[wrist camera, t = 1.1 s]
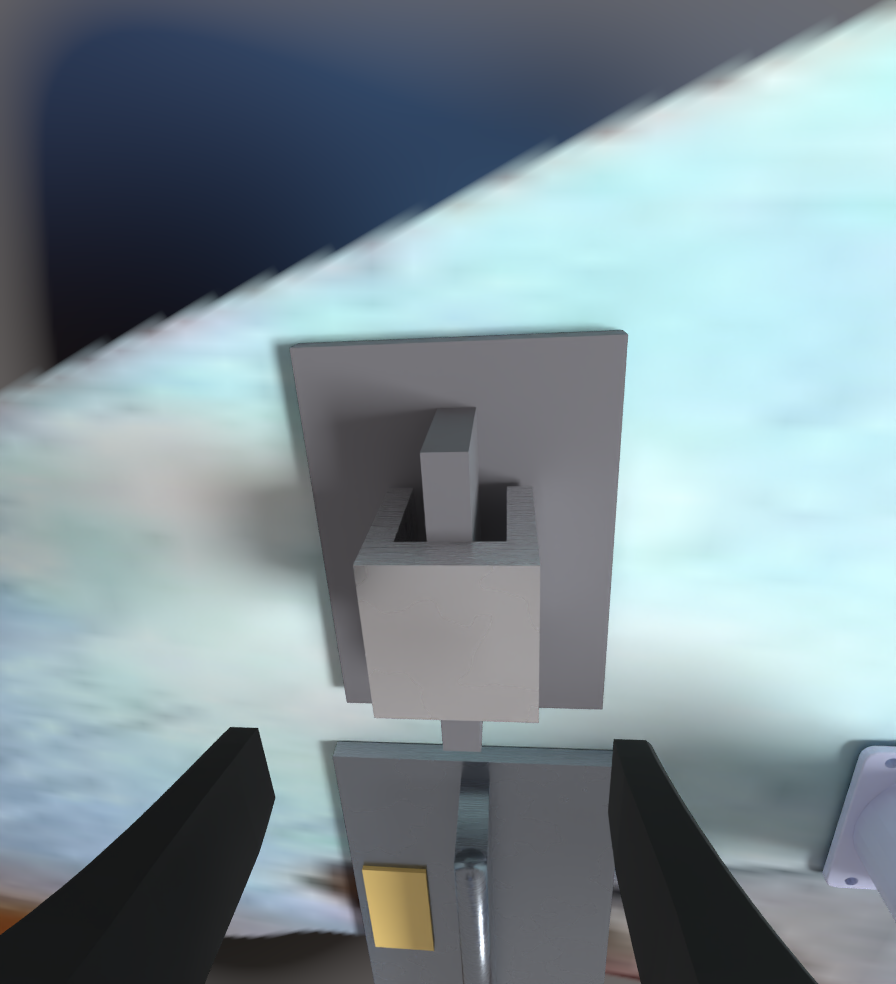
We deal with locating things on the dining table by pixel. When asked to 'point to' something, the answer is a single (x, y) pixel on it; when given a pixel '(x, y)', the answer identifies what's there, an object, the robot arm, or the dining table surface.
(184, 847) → the robot arm
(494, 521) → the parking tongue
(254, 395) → the dining table surface
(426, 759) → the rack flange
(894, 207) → the dining table surface
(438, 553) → the slotted grey block
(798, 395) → the dining table surface
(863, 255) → the dining table surface
